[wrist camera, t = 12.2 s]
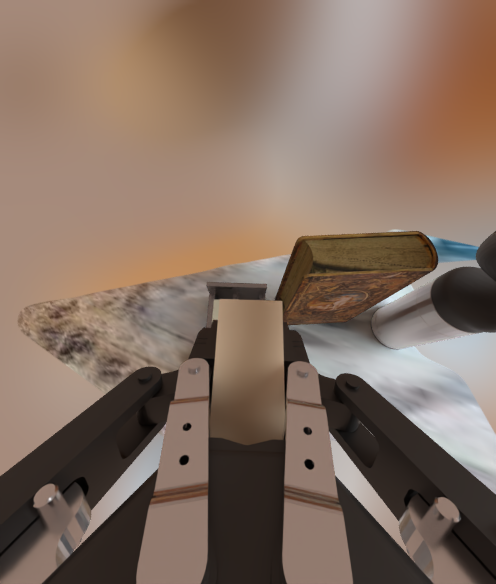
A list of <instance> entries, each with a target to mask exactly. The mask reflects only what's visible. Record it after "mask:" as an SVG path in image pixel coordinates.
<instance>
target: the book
mask: <svg viewBox="0 0 496 584" xmlns="http://www.w3.org/2000/svg"><path fill="white" fill-rule="evenodd" d="M437 265H438V255H437V252H436V249H435V247H434V245H433V243H432V242H431V240H430V239H429V238H428V237H427V236H426V235H424V234H423V233H421V232H419V231H409V232H386V233H366V234H342V235H321V236H320V235H319V236H302V237H300V238H298V240H297V241H296V243H295V246H294V249H293V251H292V254H291V257H290V259H289V262H288V265H287V267H286V270H285V273H284V276H283V278H282V281H281V284H280V287H279V289H278V292H277V295H276V297H275V301H282V310H283V322H287V325H300V324H318V323H337V322H347V321H349V320H350V319H352V318H354V317H355V316H357V315H359V314H360V313H362V312H364V311H366V310H367V309H369V308H371V307H372V306H374V305H376V304H377V303H379V302H381V301H382V300H384V299H386V298H388V297H389V296H391V295H393V294H394V293H396V292H398V291H399V290H401V289H403V288H405V287H406V286H408V285H410V284H411V283H413V282H415V281H416V280H418V279H420V278H421V277H423V276H425V275H427V274H428V273H430V272H432V271H433V270H435V268H436V267H437Z"/></svg>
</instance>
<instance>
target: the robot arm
mask: <svg viewBox="0 0 496 584" xmlns="http://www.w3.org/2000/svg"><path fill="white" fill-rule="evenodd" d="M476 260H477V262H478V264H479V266H480V267H481V268H482V269H481V268H476V267H460V268H456V269H453V270H451V271H449V272H447V273H445V274H443V275H441V276H439V277H438V278H436V279H434V280H432V281H430V282H429V283H427V284H425V285H423V286H421V287H419V288H418V289H416V290H414V291H412V292H410V293H408V294H406V295H404V296H402V297H401V298H399V299H397V300H395V301H393V302H391V303H389V304H387V305H386V306H384V307H382V308H380V309H378V310H377V311H376V312H375V313H374V315H373V317H372V321H371V326H372V330H373V333H374V335H375V336H376V338H377V339H378V340H379V341H380V342H381V343H382V344H384V345H385V346H387V347H389V348H393V349H403V348H408V347H413V346H419V345H423V344H428V343H433V342H438V341H443V340H448V339H453V338H458V337H462V336H467V335H472V334H476V333H481V332H496V231H495V232H494V233H493V234H491V235H490V236H489V237H488V238H487V239H486V240H485V241H484V242H483V243H482V244H481V245H480V247H479V248H478V250H477V253H476ZM217 325H218V320H213V322H212V325H211V328H203V329H202V330H201V331H200V332H199V333H198V335H197V339H196V341H195V344H194V346H193V349H192V351H191V354H190V357H189V359H188V360H186V361H185V362H183V363H182V364H181V366H180V368H179V370H177V371H174V372H169V373H164V374H161V371H160V370H159V369H158V368H156V367H144V368H141V369H139V370H137V371H135V372H134V373H133V374H131V375H130V376H129V377H127V378H126V379H125V380H124V381H122V382H121V383H120V384H118V385H117V386H116V387H115V388H113V389H112V390H111V391H109V392H108V393H107V394H106V395H104V396H103V397H102V398H100V399H99V400H98V401H97V402H95V403H94V404H93V405H91V406H90V407H89V408H88V409H86V410H85V411H84V412H82V413H81V414H80V415H79V416H78V417H76V418H75V419H73V420H72V421H71V422H70V423H68V424H67V425H66V426H64V427H63V428H62V429H61V430H59V431H58V432H57V433H55V434H54V435H53V436H52V437H50V438H49V439H48V440H47V441H45V442H44V443H43V444H41V445H40V446H39V447H37V448H36V449H35V450H34V451H32V452H31V453H30V454H28V455H27V456H26V457H25V458H23V459H22V460H21V461H20V462H18V463H17V464H16V465H14V466H13V467H12V468H10V469H9V470H8V471H7V472H5V473H4V474H3V475H1V476H0V584H496V494H494V493H493V492H492V491H491V490H490V489H489V488H487V487H486V486H485V485H484V484H483V483H482V482H481V481H479V480H478V479H477V478H476V477H475V476H474V475H472V474H471V473H470V472H469V471H468V470H467V469H466V468H464V467H463V466H462V465H461V464H460V463H459V462H457V461H456V460H455V459H454V458H453V457H452V456H451V455H449V454H448V453H447V452H446V451H445V450H444V449H442V448H441V447H440V446H439V445H438V444H437V443H436V442H434V441H433V440H432V439H431V438H430V437H429V436H427V435H426V434H425V433H424V432H423V431H422V430H421V429H419V428H418V427H417V426H416V425H415V424H414V423H412V422H411V421H410V420H409V419H408V418H407V417H406V416H404V415H403V414H402V413H401V412H400V411H399V410H397V409H396V408H395V407H394V406H393V405H392V404H391V403H389V402H388V401H387V400H386V399H385V398H384V397H382V396H381V395H380V394H379V393H378V392H377V391H376V390H374V389H373V388H372V387H371V386H370V385H369V384H367V383H366V382H365V381H364V380H363V379H361V378H360V377H358V376H356V375H353V374H348V373H344V374H340V375H339V376H338V377H337V378H336V380H335V379H331V378H328V377H325V376H322V375H320V374H318V372H317V370H316V368H315V367H314V366H312V365H311V364H310V362H309V359H308V356H307V353H306V350H305V347H304V344H303V341H302V338H301V335H300V334H299V333H298V332H297V331H296V330H289V328H288V325H287V322H283V350H284V391H285V421H284V428H283V435H282V440H274V439H272V440H268V441H264V442H260V443H255V444H251V445H243V444H240V443H237V442H233V441H230V440H227V439H224V438H213V437H211V430H210V414H211V402H212V389H213V376H214V363H215V351H216V338H217ZM166 422H167V424H166ZM165 424H166V429H165V435H164V440H163V447H162V452H161V457H160V463H159V468H158V469H157V470H156V471H155V472H154V473H153V474H152V475H151V476H150V477H149V478H148V479H147V480H146V481H145V482H144V483H143V484H142V485H141V486H140V487H139V488H138V489H137V490H136V491H135V492H134V493H133V494H132V495H131V496H130V497H129V498H128V499H127V500H126V501H125V502H124V503H123V504H122V505H121V506H120V507H119V508H118V509H117V510H116V511H115V512H114V513H113V514H112V515H111V516H110V517H109V518H108V519H106V520H105V521H104V523H103V524H101V525H100V526H99V527H98V528H97V529H96V530H95V531H94V532H93V533H92V534H91V535H90V536H89V537H88V538H87V539H86V540H85V541H84V542H83V543H82V544H81V545H80V546H79V547H78V548H77V549H76V550H75V551H74V549H75V548H76V547H77V546H78V545H79V544H80V542H81V540H82V537H83V535H84V534H85V532H86V530H87V528H88V526H89V523H90V520H91V510H92V509H93V508H94V507H95V506H96V504H97V503H98V502H99V501H100V500H101V499H102V497H103V496H104V495H105V494H106V493H107V492H108V490H109V489H110V488H111V487H112V486H113V485H114V483H115V482H116V481H117V480H118V479H119V478H120V476H121V475H122V474H123V473H124V472H125V471H126V469H127V468H128V467H129V466H130V465H131V464H132V462H133V461H134V460H135V459H136V458H137V457H138V456H139V454H140V453H141V452H142V451H143V450H144V449H145V447H146V446H147V445H148V444H149V443H150V442H151V440H152V439H153V438H154V437H155V436H156V435H157V433H158V432H159V431H160V430H161V429H162V428H163V427H164V425H165ZM364 426H365V427H366V428H367V429H368V430H369V431H370V432H371V433H372V434H373V435H372V434H371V433H370V432H369V431H368V430H367V429H366V428H365V427H364ZM329 431H330V433H331V434H332V435H333V437H334V438H335V439H336V441H337V442H338V443H339V444H340V446H341V447H342V448H343V450H344V451H345V452H346V453H347V455H348V456H349V457H350V459H351V460H352V461H353V463H354V464H355V465H356V466H357V468H358V469H359V470H360V471H361V473H362V474H363V476H364V477H365V478H366V479H367V481H368V482H369V483H370V484H371V486H372V487H373V488H374V490H375V491H376V492H377V493H378V495H379V496H380V498H381V499H382V500H383V501H384V503H385V504H386V505H387V507H388V508H389V509H390V510H391V512H392V513H393V514H394V516H395V517H396V518H397V520H398V521H399V529H400V534H401V537H402V540H403V542H404V544H405V546H406V549H407V552H408V554H409V556H410V557H411V558H410V557H409V556H408V555H407V554H406V553H405V552H404V550H403V549H402V548H401V547H400V546H399V545H398V544H397V543H396V542H395V540H394V539H393V538H392V537H391V536H390V535H389V534H388V533H387V532H386V531H385V529H384V528H383V527H382V526H381V525H380V524H379V523H378V522H377V521H376V520H375V518H374V517H373V516H372V515H371V514H370V513H369V512H368V511H367V510H366V509H365V508H364V506H363V505H362V504H361V503H360V502H359V501H358V500H357V499H356V498H355V497H354V496H353V495H352V493H351V492H350V491H349V490H348V489H347V488H346V487H345V486H344V485H343V484H342V482H341V481H340V480H339V479H338V478H337V477H336V476H335V472H334V465H333V459H332V451H331V443H330V436H329ZM73 551H74V552H73Z"/></svg>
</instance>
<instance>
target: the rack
mask: <svg viewBox="0 0 496 584" xmlns="http://www.w3.org/2000/svg"><path fill="white" fill-rule="evenodd" d="M207 288H208V291H209V293H210V295H209V305H208V315H207V326H206V328H211V325H212V317H213V305H214V300H220V299H237V300H265V293H266V289H267V284H249V283H217V282H207Z"/></svg>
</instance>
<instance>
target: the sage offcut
mask: <svg viewBox="0 0 496 584" xmlns="http://www.w3.org/2000/svg"><path fill="white" fill-rule="evenodd" d="M218 313H219V300H214V305H213V317H212V322H213V320H218Z"/></svg>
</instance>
